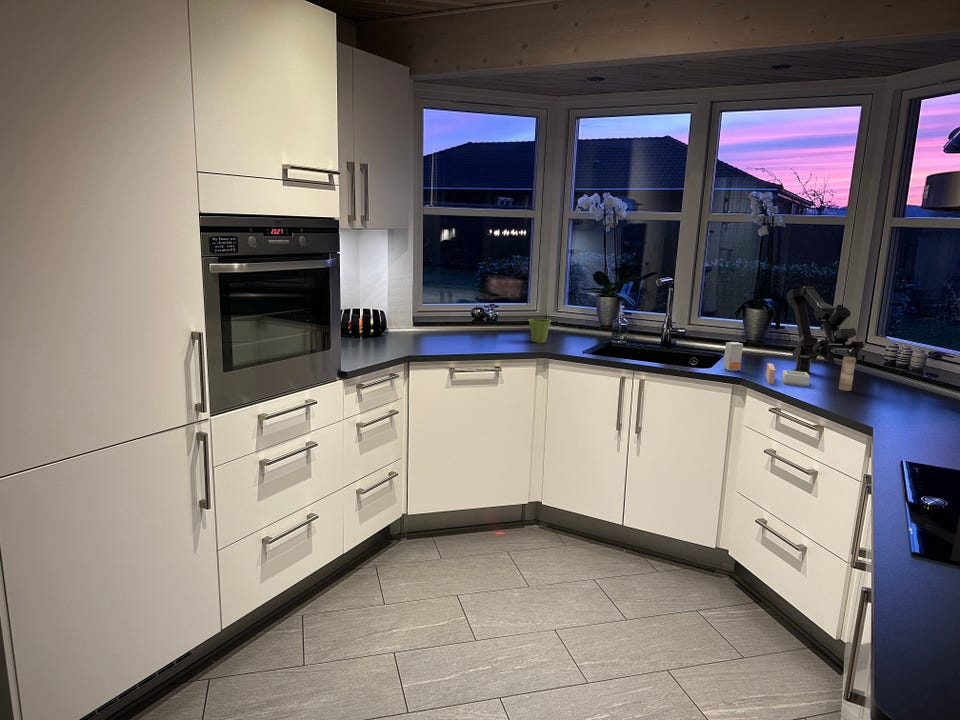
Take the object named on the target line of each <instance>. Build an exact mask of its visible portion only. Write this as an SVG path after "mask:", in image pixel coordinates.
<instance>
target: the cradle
mask: <svg viewBox="0 0 960 720" xmlns="http://www.w3.org/2000/svg"><path fill="white" fill-rule="evenodd" d="M781 377H782V378H781V380H782V383H783V384H784V385H790V386H798V387H800V386H801V387H809V386H810V380H811V379H810V378H811V377H810V374H809V373H807V372H797V371H794V370H788V369H787V370H786V369H785V370H784V369H782V375H781Z"/></svg>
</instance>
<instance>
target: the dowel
mask: <svg viewBox="0 0 960 720" xmlns="http://www.w3.org/2000/svg"><path fill="white" fill-rule="evenodd" d="M855 362H856V358H854V357H849V356H848V355H847V356H843V358H842V366H841V370H840V377H839V382H838V383H839V385H838V389H839V390H841V391H847V392H849V391H852V387H853V381H854V375H855V367H856V365H855Z"/></svg>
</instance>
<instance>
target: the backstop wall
mask: <svg viewBox="0 0 960 720" xmlns="http://www.w3.org/2000/svg"><path fill="white" fill-rule="evenodd" d="M766 366H767V367H766V373H765V379H766V382H767V384H768V385H774V384H775V379H776V373H777V372H776V371H777V370H776V368H775V365H774V363H769V362H767V364H766Z"/></svg>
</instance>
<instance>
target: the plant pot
mask: <svg viewBox="0 0 960 720" xmlns="http://www.w3.org/2000/svg"><path fill="white" fill-rule="evenodd" d="M527 321H528V323H529V328H530V329H529V330H530V337H531V342H532V343H538V344H540V343H542V344H543V343H546V342H547V337H548V333H549V328H550V325H551V322H552V320H551V319H545V318H529V319H528V320H527Z"/></svg>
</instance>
